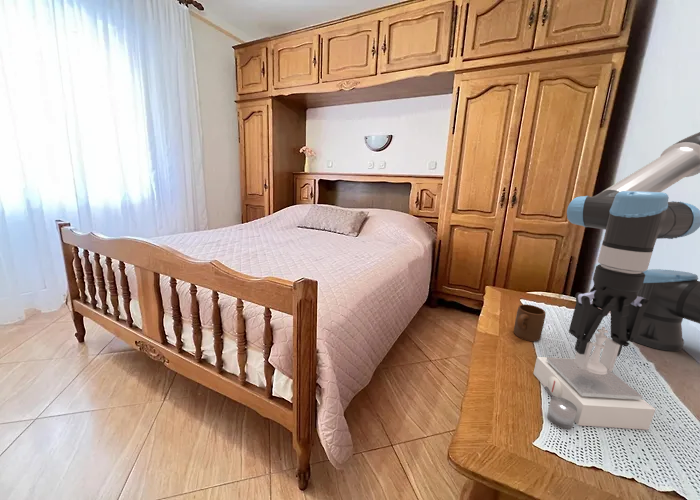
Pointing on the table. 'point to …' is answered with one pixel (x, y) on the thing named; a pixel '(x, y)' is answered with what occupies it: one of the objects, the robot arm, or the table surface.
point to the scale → (595, 403)
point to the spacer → (562, 412)
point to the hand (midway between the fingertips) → (592, 366)
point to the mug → (529, 322)
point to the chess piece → (597, 354)
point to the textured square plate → (593, 381)
